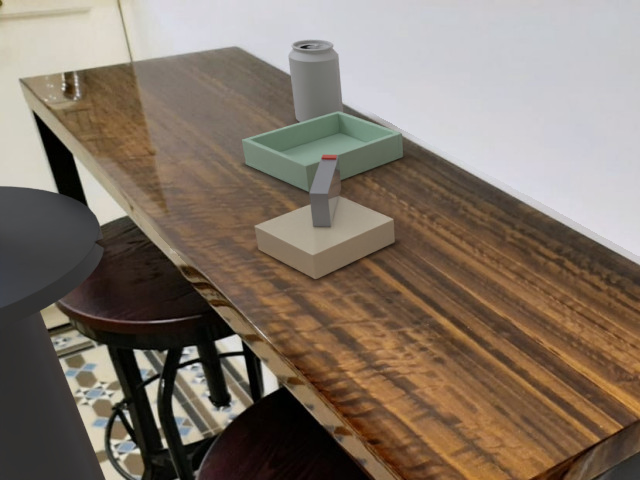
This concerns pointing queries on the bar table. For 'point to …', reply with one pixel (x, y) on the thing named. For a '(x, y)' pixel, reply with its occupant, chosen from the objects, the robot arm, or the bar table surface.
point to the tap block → (325, 237)
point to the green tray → (322, 148)
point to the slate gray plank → (325, 191)
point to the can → (315, 79)
